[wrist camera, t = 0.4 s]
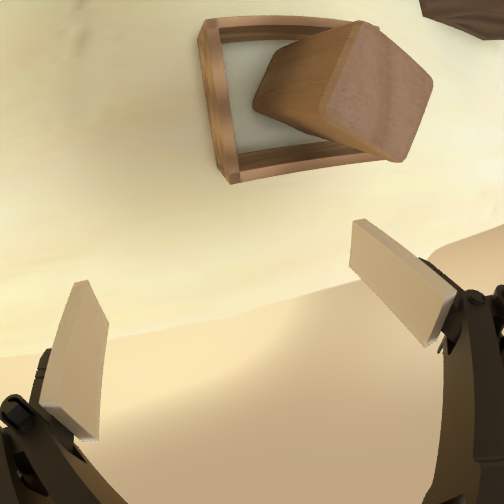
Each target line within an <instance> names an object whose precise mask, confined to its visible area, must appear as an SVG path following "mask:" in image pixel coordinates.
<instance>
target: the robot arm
mask: <svg viewBox="0 0 504 504" xmlns="http://www.w3.org/2000/svg"><path fill="white" fill-rule="evenodd" d="M349 267H350V268H351V269H352V270H353V271H354V272H355V273H356V274H357V275H358V276H359V277H360V278H361V279H362V280H363V281H364V282H365V283H366V284H367V285H368V286H369V287H370V288H371V289H372V291H373V292H375V294H376V295H377V296H378V297H379V298H380V299H381V300H382V301H383V302H384V303H385V304H386V305H387V307H388V308H389V309H390V310H391V311H392V312H393V313H394V314H395V315H396V316H397V317H398V318H399V319H400V321H401V322H402V323H403V324H404V325H405V326H406V327H407V329H408V330H409V331H410V332H411V333H412V334H413V335H414V336H415V338H416V339H417V340H418V341H419V342H420V343H421V344H422V346H423V347H424V348H425V347H427V346H428V345H430V344H432V343H434V342H435V341H436V340H437V338H438V336H439V334H440V332H441V331H442V332H443V333H444V334H445V336H444V338H443V340H442V342H441V344H440V346H439V348H438V352H437V353H440V351H441V349H442V348H443V355H444V389H443V409H442V422H441V433H440V442H439V449H438V456H437V463H436V469H435V474H434V479H433V483H432V485H431V487H430V489H429V490H428V492H427V493H426V495H425V498H424V500H423V502H422V504H504V336H503V335H502V333H501V332H502V330H503V328H504V285H498V286H497V287H496V289H495V292H494V294H493V295H489V296H484V295H483V294H482V293H480V292H479V291H476V290H466V291H464V290H463V289H461V288H460V287H459V286H458V285H457V284H456V283H454V282H453V281H452V280H451V279H450V278H448V277H447V276H446V275H445V274H443V273H442V272H441V271H440V270H439V269H437V268H436V267H435V266H434V265H433V264H431V263H430V262H428V261H426V260H424V259H422V258H420V257H419V258H417V257H416V256H415V255H413V254H412V253H411V252H409V251H408V250H407V249H406V248H404V247H403V246H402V245H400V244H399V243H398V242H396V241H395V240H394V239H392V238H391V237H390V236H388V235H387V234H386V233H384V232H383V231H382V230H380V229H379V228H377V227H376V226H375V225H373V224H372V223H370V222H369V221H368V220H366V219H360V220H355V221H353V226H352V239H351V251H350V261H349ZM108 328H109V322H108V320H107V318H106V316H105V314H104V312H103V311H102V309H101V307H100V305H99V302H98V300H97V298H96V296H95V294H94V292H93V290H92V288H91V286H90V283H89V281H88V280H85V281H81V282H76V283H74V285H73V288H72V290H71V293H70V296H69V298H68V301H67V304H66V307H65V309H64V312H63V315H62V318H61V321H60V324H59V327H58V330H57V333H56V337H55V340H54V343H53V347H52V348H50V349H46V350H45V352H44V353H43V355H42V357H41V358H40V361H39V365H38V368H37V369H38V371H36V375H35V378H36V379H35V380H34V383H33V387H32V391H31V396H30V400H29V404H28V403H27V402H26V401H25V400H24V399H23V398H22V397H21V396H20V395H18V394H14V395H10V396H8V397H7V398H6V399H5V400H4V401H3V402H2V404H1V407H0V420H1V421H2V422H3V423H5V424H6V425H7V426H8V427H5V428H2V427H1V426H0V504H128V503H127V502H126V501H125V500H124V499H123V498H122V497H121V496H120V495H119V494H118V493H117V492H116V491H115V490H114V489H113V488H112V487H111V486H110V485H109V484H108V483H107V482H106V480H105V479H104V478H103V477H102V476H101V475H100V474H99V472H98V471H97V470H96V469H95V468H94V466H93V465H92V464H91V463H90V462H89V460H88V459H87V458H86V457H85V456H84V454H83V453H82V452H81V450H80V449H79V447H78V446H77V445H76V444H75V443H74V435H75V436H76V437H77V438H78V439H80V440H81V441H99V416H100V399H101V385H102V375H103V365H104V356H105V349H106V341H107V334H108ZM17 471H18V472H17ZM18 475H19V476H18Z"/></svg>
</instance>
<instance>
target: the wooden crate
mask: <svg viewBox="0 0 504 504" xmlns="http://www.w3.org/2000/svg"><path fill="white" fill-rule="evenodd" d="M419 2H420V6H421V10H422V15H423V17H426V18H429V19H432V20H435V21H438V22H441V23H444V24H446V25H449V26H452V27H454V28H457V29H459V30H462V31H464V32H466V33H469V34H471V35H473V36H475V37H477V38H480V39H482V40H504V0H419Z"/></svg>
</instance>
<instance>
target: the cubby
mask: <svg viewBox="0 0 504 504" xmlns="http://www.w3.org/2000/svg"><path fill="white" fill-rule="evenodd" d="M348 23H351V22H350V21H343V20H336V19H327V18H316V17H303V16H238V17H224V18H214V19H205V21H204V23H203V26H202V28H201V30H200V33H199V35H198V37H197V41H198V48H199V55H200V62H201V69H202V75H203V82H204V88H205V95H206V101H207V107H208V114H209V120H210V126H211V132H212V138H213V144H214V150H215V156H216V162H217V167H218V169H219V170H220V171H221V173H222V174H223V176H224V177H225V178H226V180H227V181H228V182H229V184H230V185H231V184H236V183H241V182H246V181H251V180H256V179H261V178H266V177H272V176H277V175H283V174H288V173H294V172H300V171H306V170H312V169H319V168H325V167H332V166H339V165H346V164H354V163H362V162H370V161H378V160H385V159H383V158H380V157H377V156H375V155H372V154H369V153H366V152H363V151H361V150H358V149H355V148H352V147H349V146H346V145H343V144H340V143H336V142H333V141H329V142H320V143H311V144H303V145H295V146H288V147H281V148H274V149H268V150H262V151H256V152H250V153H244V154H239V155H237V151H236V144H235V137H234V131H233V124H232V117H231V110H230V103H229V96H228V89H227V83H226V76H225V69H224V62H223V55H222V48H221V43H228V42H239V41H254V40H302V39H304V38H307V37H310V36H312V35H315V34H318V33H321V32H323V31H326V30H329V29H332V28H335V27H338V26H342V25H345V24H348ZM374 27H375V28H377V29H378V30H379V27H378V26H374ZM379 31H380V30H379Z"/></svg>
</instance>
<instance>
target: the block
mask: <svg viewBox="0 0 504 504" xmlns="http://www.w3.org/2000/svg"><path fill="white" fill-rule="evenodd" d="M432 89H433V80H432V78H431V76H430V75H429V74H428V73H427V72H426V71H425V70H424V69H423V68H422V67H421V66H420V65H418V64H417V63H416V62H415V61H414V60H413V59H412V58H411V57H410V56H409V55H408V54H407V53H406V52H404V51H403V50H402V49H401V48H400V47H399V46H398V45H396V44H395V43H394V42H393V41H392V40H390V39H389V38H388V37H387V36H386V35H384V34H383V33H382V32H381V31H379V30H378V29H377V28H375V27H374V26H373V25H372V24H370V23H367V22H365V21H360V20H358V21H355V22H351V23H348V24H345V25H342V26H338V27H335V28H332V29H329V30H326V31H323V32H321V33H318V34H315V35H312V36H310V37H307V38H304V39H302V40H299V41H297V42H294V43H292V44H289V45H287V46H285V47H282V48H280V49H279V50H278V51H276V53H275V55H274V57H273V59H272V61H271V64H270V66H269V68H268V70H267V72H266V75H265V77H264V79H263V81H262V83H261V86H260V88H259V90H258V93H257V95H256V97H255V99H254V102H253V108H254V109H255V110H256V111H257V112H259V113H262V114H264V115H267V116H269V117H271V118H274V119H276V120H278V121H280V122H283V123H285V124H287V125H289V126H292V127H294V128H296V129H298V130H300V131H302V132H304V133H307V134H309V135H313V136H316V137H320V138H323V139H327V140H330V141H333V142H336V143H340V144H343V145H346V146H349V147H352V148H355V149H358V150H361V151H363V152H366V153H369V154H372V155H375V156H377V157H380V158H383V159H385V160H388V161H391V162H397V163H400V162H403V161H404V160H405V159H406V157H407V155H408V152H409V150H410V147H411V145H412V143H413V140H414V138H415V135H416V133H417V130H418V128H419V125H420V122H421V120H422V117H423V114H424V112H425V109H426V106H427V103H428V101H429V98H430V95H431V92H432Z"/></svg>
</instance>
